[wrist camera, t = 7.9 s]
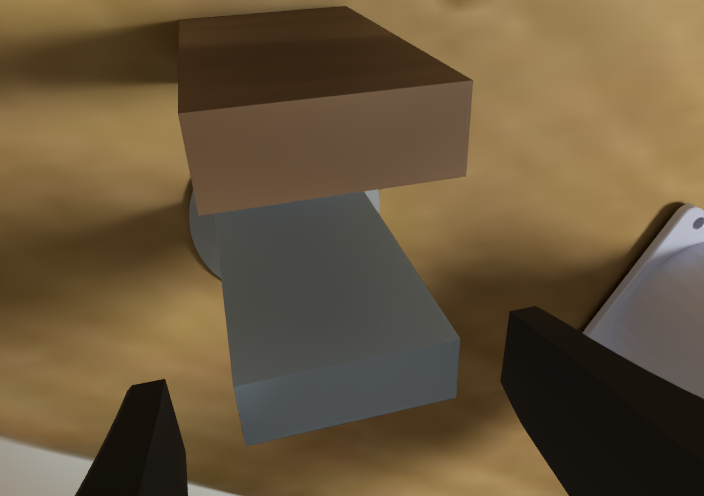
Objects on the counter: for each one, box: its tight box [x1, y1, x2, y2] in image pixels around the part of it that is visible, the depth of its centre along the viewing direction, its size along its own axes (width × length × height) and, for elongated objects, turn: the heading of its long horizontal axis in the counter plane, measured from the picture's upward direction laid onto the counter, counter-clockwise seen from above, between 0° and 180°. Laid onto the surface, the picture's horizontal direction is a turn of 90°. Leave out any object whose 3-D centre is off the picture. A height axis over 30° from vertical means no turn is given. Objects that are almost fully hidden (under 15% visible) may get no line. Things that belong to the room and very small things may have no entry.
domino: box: [178, 6, 473, 216], centre depth 12 cm, size 2×4×8 cm, turn 92°
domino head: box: [214, 191, 461, 446], centre depth 14 cm, size 2×4×8 cm, turn 92°
